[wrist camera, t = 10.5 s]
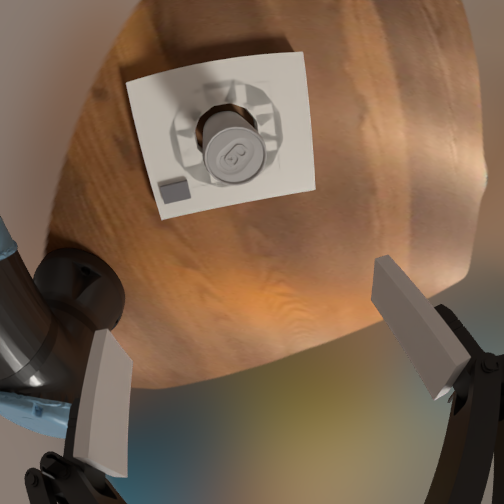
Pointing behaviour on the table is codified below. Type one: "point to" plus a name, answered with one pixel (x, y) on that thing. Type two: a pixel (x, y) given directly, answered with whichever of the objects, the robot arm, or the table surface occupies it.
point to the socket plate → (217, 93)
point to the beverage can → (232, 149)
